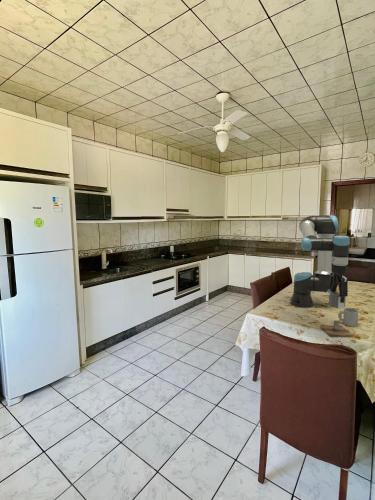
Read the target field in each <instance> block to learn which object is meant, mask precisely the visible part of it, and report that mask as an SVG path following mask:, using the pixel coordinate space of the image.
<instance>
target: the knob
mask: <svg viewBox="0 0 375 500" xmlns="http://www.w3.org/2000/svg"><path fill="white" fill-rule="evenodd" d="M339 295H340V294H339V291H335V292H329V294H328V296H329V297H328V306H330V307H331V308H336V309H339V308H338V298H339ZM346 298H347V296H346V297H345V298H344V308H346Z"/></svg>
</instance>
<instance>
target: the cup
mask: <svg viewBox="0 0 375 500" xmlns="http://www.w3.org/2000/svg"><path fill="white" fill-rule="evenodd" d="M342 314H343V318H342ZM337 317H338V320H339V321H341V322H342V323H343V325H344V324H345V326H346V325H347V327H350V326H352V327H351V328H356V327H357V326H358V324H359V323H358V322H359V310H358V309H356V308H351V307H344V308H343V310H339V312H338V314H337ZM355 326H356V327H355Z"/></svg>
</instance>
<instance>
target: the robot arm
mask: <svg viewBox="0 0 375 500" xmlns="http://www.w3.org/2000/svg"><path fill="white" fill-rule="evenodd" d="M338 220H339V219H338V217H337V216H336V215H332V214H331V215H329V214H327V215H316V214H315V215H309V216H306V217H305V218H303V219H302V220H301V221H300V222H299V225H298V226H299V227H298V229H299V231H300V232H301V235H302V239H301V243H300V246H301V250H302V251H307V252H309V251H311V252H312V251H313V252H317V251H318V253H317V270H316V271H315V272H314V274H313V273H312V272H307V271H305V272H297V273H295V274H294V277H293V293H292V296H291V298H290V302H289V303H290V304H291V305H292V306H294V307H297V308H312V307H314V301H313V298H312V292H316V293H317V292H320V293H330V292H339V294H340V295H339V298H338V308H337V309H345V307H344V298H345V297H346V298H347V297H348V294H349V292H348V291H349V289H348V286H349V283H348V282H349V278H348V277H346V275H345V274H346V273H348V269H349V268H348V267H349V266H348V265H349V252H350V250H349V249H350V243H351V242H350V236H348V235H336V233H338V232H339V221H338ZM337 288H338V289H337Z"/></svg>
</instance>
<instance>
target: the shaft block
mask: <svg viewBox="0 0 375 500" xmlns="http://www.w3.org/2000/svg"><path fill="white" fill-rule="evenodd" d="M319 328H320V329H321V330H322V331H323V332H324V333H325V334H326V335H328V337H329V338H354V334H353V333H352V332H350V331H349V330H348V329H346V328H345V327H344V326H342V325H340V320H335V319H334V320H333V324H332V325H324V324H323V325H321V324H320V325H319Z"/></svg>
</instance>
